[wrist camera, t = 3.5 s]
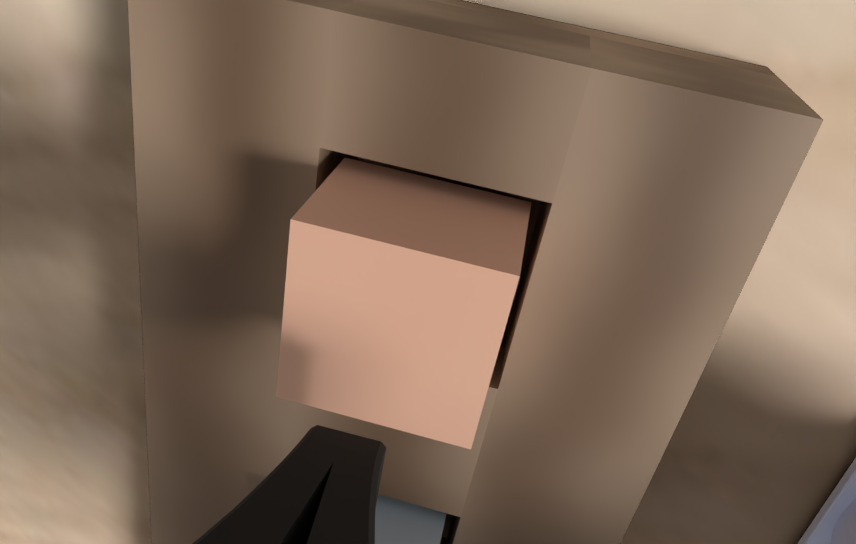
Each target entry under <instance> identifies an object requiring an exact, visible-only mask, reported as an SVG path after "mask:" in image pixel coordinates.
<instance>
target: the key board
mask: <svg viewBox="0 0 856 544" xmlns="http://www.w3.org/2000/svg"><path fill="white" fill-rule="evenodd" d="M128 18H129V41H130V64H131V87H132V110H133V133H134V155H135V178H136V201H137V224H138V247H139V270H140V292H141V315H142V338H143V361H144V384H145V407H146V429H147V452H148V475H149V498H150V521H151V544H193V543H194V542H195V541H196V540H198V539H199V538H200V537H201V536H202V535H203V534H205V533H206V532H207V531H208V530H209V529H210V528H212V527H213V526H214V525H215V524H216V523H217V522H219V521H220V520H221V519H222V518H223V517H224V516H225V515H227V514H228V513H229V512H230V511H231V510H232V509H234V508H235V507H236V506H237V505H238V504H239V503H240V502H241V501H242V500H243V499H244V498H245V497H246V496H247V495H248V494H249V493H250V492H252V491H253V490H254V489H255V488H256V487H257V486H258V485H259V484H260V483H261V482H262V481H263V480H264V479H265V478H266V477H267V476H268V475H269V474H270V473H271V472H272V471H273V470H274V469H275V468H276V467H277V466H278V465H279V464H280V463H281V462H282V461H283V460H284V458H285V457H286V456H287V455H288V454H289V453H290V452H291V451H292V450H293V449H294V447H295V446H296V445H297V444H298V443H299V442H300V441H301V439H302V438H303V437H304V436H305V435H306V433H307V432H308V431H309V430H310V429H311V428H312V427H314V426H316V425H320V426H324V427H328V428H331V429H335V430H339V431H343V432H347V433H350V434H354V435H358V436H362V437H366V438H370V439H373V440H377V441H381V442H382V443H383V444H384V446H385V447H386V453H385V458H384V464H383V469H382V475H381V481H380V486H379V492H378V494H379V495H383V496H386V497H390V498H393V499H397V500H400V501H404V502H408V503H411V504H415V505H418V506H422V507H426V508H429V509H433V510H436V511H440V512H444V513H446V518H445V523H444V527H443V532H442V537H441V541H440V544H620V543H621V541H622V539H623V537H624V535H625V533H626V531H627V529H628V527H629V525H630V523H631V520H632V518H633V516H634V514H635V512H636V510H637V508H638V506H639V504H640V502H641V500H642V497H643V495H644V493H645V491H646V489H647V487H648V485H649V483H650V481H651V479H652V477H653V474H654V472H655V470H656V468H657V466H658V464H659V462H660V460H661V458H662V456H663V454H664V452H665V449H666V447H667V445H668V443H669V441H670V439H671V437H672V435H673V433H674V431H675V429H676V426H677V424H678V422H679V420H680V418H681V416H682V414H683V412H684V410H685V408H686V406H687V403H688V401H689V399H690V397H691V395H692V393H693V391H694V389H695V387H696V385H697V383H698V381H699V378H700V376H701V374H702V372H703V370H704V368H705V366H706V364H707V362H708V360H709V358H710V355H711V353H712V351H713V349H714V347H715V345H716V343H717V341H718V339H719V337H720V335H721V332H722V330H723V328H724V326H725V324H726V322H727V320H728V318H729V316H730V314H731V312H732V310H733V307H734V305H735V303H736V301H737V299H738V297H739V295H740V293H741V291H742V289H743V287H744V284H745V282H746V280H747V278H748V276H749V274H750V272H751V270H752V268H753V266H754V264H755V261H756V259H757V257H758V255H759V253H760V251H761V249H762V247H763V245H764V243H765V241H766V239H767V236H768V234H769V232H770V230H771V228H772V226H773V224H774V222H775V220H776V218H777V216H778V213H779V211H780V209H781V207H782V205H783V203H784V201H785V199H786V197H787V195H788V193H789V190H790V188H791V186H792V184H793V182H794V180H795V178H796V176H797V174H798V172H799V170H800V168H801V165H802V163H803V161H804V159H805V157H806V155H807V153H808V151H809V149H810V147H811V145H812V142H813V140H814V138H815V136H816V134H817V132H818V130H819V128H820V126H821V124H822V122H823V119H822V118H821V117H820V116H819V115H818V114H817V113H816V112H815V111H813V110H812V109H811V108H810V107H809V106H808V105H807V104H806V103H805V102H804V101H803V100H802V99H801V98H800V97H799V96H797V95H796V94H795V93H794V92H793V91H792V90H791V89H790V88H789V87H788V86H787V85H786V84H785V83H784V82H783V81H782V80H780V79H779V78H778V77H777V76H776V75H775V74H774V73H773V72H772V71H771V70H770V69H769V68H768V67H764V66H759V65H755V64H750V63H746V62H741V61H736V60H732V59H727V58H723V57H718V56H714V55H709V54H704V53H700V52H695V51H691V50H686V49H682V48H677V47H672V46H668V45H663V44H659V43H654V42H650V41H645V40H640V39H636V38H631V37H627V36H622V35H617V34H613V33H608V32H604V31H599V30H595V29H590V28H585V27H581V26H576V25H572V24H567V23H563V22H558V21H553V20H549V19H544V18H540V17H535V16H531V15H526V14H521V13H517V12H512V11H508V10H503V9H498V8H494V7H489V6H485V5H480V4H476V3H471V2H466V1H462V0H128ZM344 158H349V159H353V160H357V161H362V162H366V163H370V164H374V165H378V166H382V167H387V168H391V169H395V170H399V171H403V172H407V173H412V174H416V175H420V176H424V177H428V178H432V179H437V180H441V181H445V182H449V183H453V184H457V185H462V186H466V187H470V188H474V189H478V190H482V191H487V192H491V193H495V194H499V195H503V196H507V197H512V198H516V199H520V200H524V201H528V202H531V208H530V215H529V221H528V228H527V234H526V241H525V247H524V253H523V260H522V266H521V273H520V278H519V281H518V285H517V288H516V292H515V296H514V299H513V303H512V306H511V310H510V313H509V317H508V320H507V324H506V327H505V331H504V334H503V338H502V342H501V345H500V349H499V352H498V356H497V359H496V363H495V366H494V370H493V373H492V377H491V380H490V384H489V387H488V391H487V395H486V398H485V402H484V405H483V409H482V412H481V416H480V419H479V423H478V426H477V430H476V433H475V437H474V441H473V444H472V448H471V449H467V448H463V447H460V446H456V445H452V444H449V443H445V442H441V441H438V440H434V439H430V438H426V437H423V436H419V435H415V434H412V433H408V432H404V431H401V430H397V429H393V428H390V427H386V426H382V425H378V424H375V423H371V422H367V421H364V420H360V419H356V418H353V417H349V416H345V415H341V414H338V413H334V412H330V411H327V410H323V409H319V408H316V407H312V406H308V405H305V404H301V403H297V402H293V401H290V400H286V399H282V398H279V397H276V392H277V379H278V367H279V355H280V343H281V330H282V318H283V306H284V294H285V281H286V269H287V257H288V245H289V232H290V220H291V218H292V217H293V216H294V215H295V214H296V213H297V211H298V210H299V209H300V208H301V207H302V206H303V205H304V203H305V202H306V201H307V200H308V199H309V198H310V197H311V196H312V194H313V193H314V192H315V191H316V190H317V189H318V188H319V186H320V185H321V184H322V183H323V182H324V181H325V180H326V178H327V177H328V176H329V175H330V174H331V173H332V172H333V171H334V169H335V168H336V167H337V166H338V165H339V164H340V163H341V161H342V160H343V159H344Z"/></svg>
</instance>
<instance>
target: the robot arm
mask: <svg viewBox="0 0 856 544" xmlns="http://www.w3.org/2000/svg"><path fill="white" fill-rule="evenodd" d="M385 453H386V447H385V446H384V444H383V443H382V442H381V441H377V440H373V439H370V438H366V437H362V436H358V435H354V434H350V433H347V432H343V431H339V430H335V429H331V428H328V427H324V426H320V425H316V426H314V427H312V428H311V429H310V430H309V431H308V432H307V433H306V435H305V436H304V437H303V438H302V439H301V441H300V442H299V443H298V444H297V445H296V446H295V447H294V449H293V450H292V451H291V452H290V453H289V454H288V455H287V456H286V457H285V458H284V460H283V461H282V462H281V463H280V464H279V465H278V466H277V467H276V468H275V469H274V470H273V471H272V472H271V473H270V474H269V475H268V476H267V477H266V478H265V479H264V480H263V481H262V482H261V483H260V484H259V485H258V486H257V487H256V488H255V489H254V490H253V491H252V492H250V493H249V494H248V495H247V496H246V497H245V498H244V499H243V500H242V501H241V502H240V503H239V504H238V505H237V506H236V507H235V508H234V509H232V510H231V511H230V512H229V513H228V514H227V515H225V516H224V517H223V518H222V519H221V520H220V521H219V522H217V523H216V524H215V525H214V526H213V527H212V528H210V529H209V530H208V531H207V532H206V533H205V534H203V535H202V536H201V537H200V538H199V539H198V540H196V541H195V542H194V543H193V544H375V508H376V503H377V497H378V492H379V486H380V481H381V475H382V469H383V464H384V458H385ZM797 544H856V458H855V459H854V461H853V462H852V464H851V465H850V467H849V468H848V470H847V471H846V472H845V474H844V475H843V477H842V478H841V480H840V481H839V483H838V484H837V486H836V487H835V489H834V490H833V492H832V493H831V495H830V496H829V498H828V499H827V501H826V502H825V504H824V505H823V507H822V508H821V509H820V511H819V512H818V514H817V515H816V517H815V518H814V520H813V521H812V523H811V524H810V526H809V527H808V529H807V530H806V532H805V533H804V535H803V536H802V538H801V539H800V541H799V542H798V543H797Z"/></svg>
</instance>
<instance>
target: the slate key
mask: <svg viewBox="0 0 856 544" xmlns="http://www.w3.org/2000/svg"><path fill="white" fill-rule="evenodd" d="M445 518H446V513H444V512H440V511H436V510H433V509H429V508H426V507H422V506H418V505H415V504H411V503H408V502H404V501H400V500H397V499H393V498H390V497H386V496H383V495H379V494H378V497H377V503H376V508H375V544H440V541H441V537H442V532H443V527H444V523H445Z"/></svg>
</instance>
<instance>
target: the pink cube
mask: <svg viewBox="0 0 856 544" xmlns="http://www.w3.org/2000/svg"><path fill="white" fill-rule="evenodd" d="M530 208H531V202H528V201H524V200H520V199H516V198H512V197H507V196H503V195H499V194H495V193H491V192H487V191H482V190H478V189H474V188H470V187H466V186H462V185H457V184H453V183H449V182H445V181H441V180H437V179H432V178H428V177H424V176H420V175H416V174H412V173H407V172H403V171H399V170H395V169H391V168H387V167H382V166H378V165H374V164H370V163H366V162H362V161H357V160H353V159H349V158H344V159H343V160H342V161H341V163H340V164H339V165H338V166H337V167H336V168H335V169H334V171H333V172H332V173H331V174H330V175H329V176H328V177H327V178H326V180H325V181H324V182H323V183H322V184H321V185H320V186H319V188H318V189H317V190H316V191H315V192H314V193H313V194H312V196H311V197H310V198H309V199H308V200H307V201H306V202H305V203H304V205H303V206H302V207H301V208H300V209H299V210H298V211H297V213H296V214H295V215H294V216H293V217H292V218H291V220H290V232H289V245H288V257H287V269H286V281H285V294H284V306H283V318H282V330H281V343H280V355H279V367H278V379H277V392H276V397H279V398H282V399H286V400H290V401H293V402H297V403H301V404H305V405H308V406H312V407H316V408H319V409H323V410H327V411H330V412H334V413H338V414H341V415H345V416H349V417H353V418H356V419H360V420H364V421H367V422H371V423H375V424H378V425H382V426H386V427H390V428H393V429H397V430H401V431H404V432H408V433H412V434H415V435H419V436H423V437H426V438H430V439H434V440H438V441H441V442H445V443H449V444H452V445H456V446H460V447H463V448H467V449H471V448H472V444H473V441H474V437H475V433H476V430H477V426H478V423H479V419H480V416H481V412H482V409H483V405H484V402H485V398H486V395H487V391H488V387H489V384H490V380H491V377H492V373H493V370H494V366H495V363H496V359H497V356H498V352H499V349H500V345H501V342H502V338H503V334H504V331H505V327H506V324H507V320H508V317H509V313H510V310H511V306H512V303H513V299H514V296H515V292H516V288H517V285H518V281H519V278H520V273H521V266H522V260H523V253H524V247H525V241H526V234H527V228H528V221H529V215H530Z"/></svg>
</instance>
